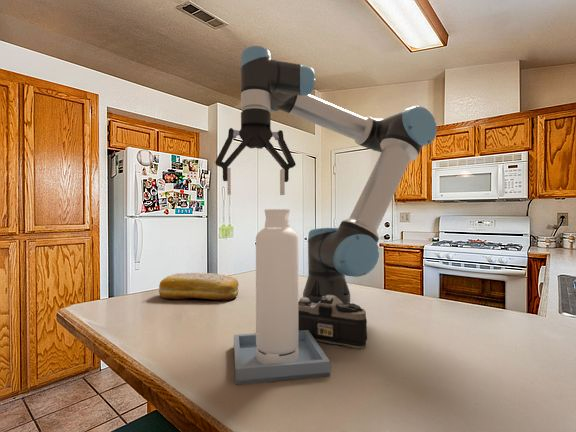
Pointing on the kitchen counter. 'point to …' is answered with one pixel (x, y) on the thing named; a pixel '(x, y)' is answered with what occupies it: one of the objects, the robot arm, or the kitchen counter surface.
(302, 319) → the camera
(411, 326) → the kitchen counter surface
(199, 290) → the bread
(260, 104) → the robot arm
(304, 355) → the tray
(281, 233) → the bottle
